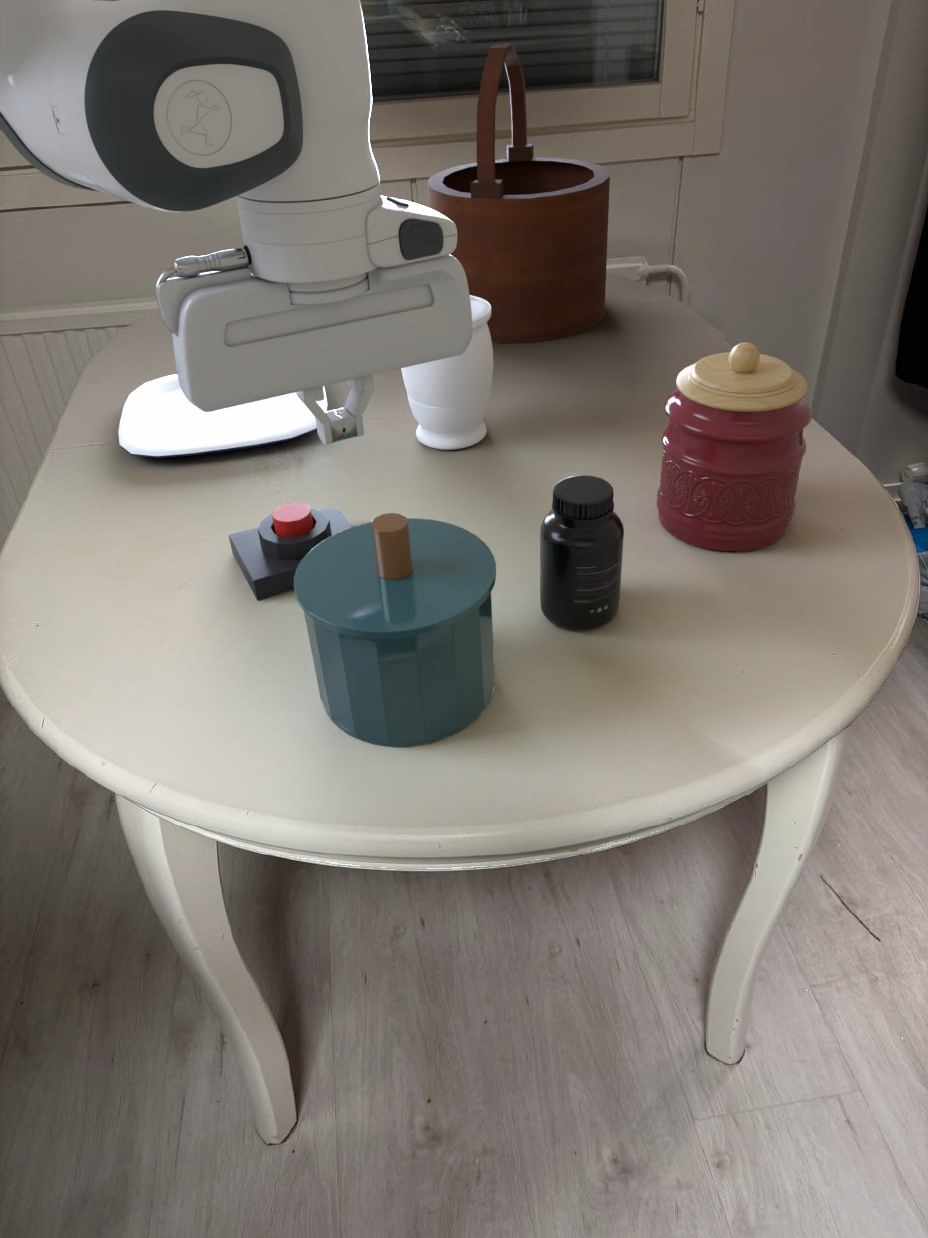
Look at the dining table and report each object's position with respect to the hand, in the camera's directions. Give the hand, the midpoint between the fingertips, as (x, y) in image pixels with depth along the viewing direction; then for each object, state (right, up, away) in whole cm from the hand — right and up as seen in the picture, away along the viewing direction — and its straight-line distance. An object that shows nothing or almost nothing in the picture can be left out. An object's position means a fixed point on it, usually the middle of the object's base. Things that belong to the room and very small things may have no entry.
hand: (341, 437), depth 66 cm
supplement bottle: (+19, -12, +14) cm, 27 cm away
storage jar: (+4, -18, +7) cm, 20 cm away
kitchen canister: (+34, -3, +25) cm, 42 cm away
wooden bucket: (+17, +34, +76) cm, 85 cm away
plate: (-21, +12, +50) cm, 56 cm away
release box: (-7, -7, +22) cm, 25 cm away
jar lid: (+4, -10, +1) cm, 11 cm away
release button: (-7, -4, +20) cm, 22 cm away
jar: (+7, +9, +43) cm, 44 cm away
